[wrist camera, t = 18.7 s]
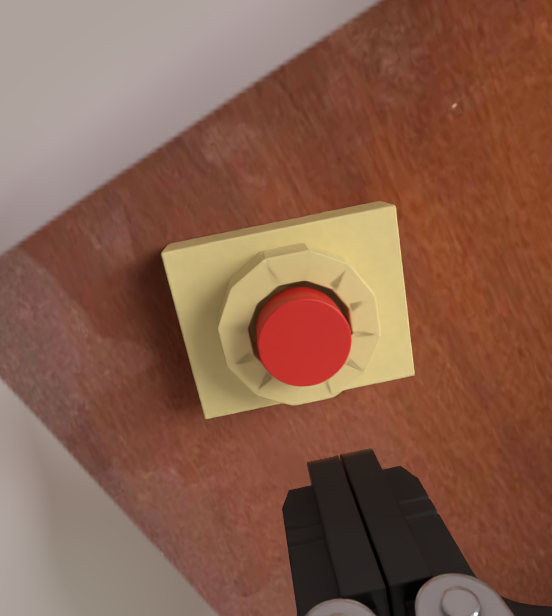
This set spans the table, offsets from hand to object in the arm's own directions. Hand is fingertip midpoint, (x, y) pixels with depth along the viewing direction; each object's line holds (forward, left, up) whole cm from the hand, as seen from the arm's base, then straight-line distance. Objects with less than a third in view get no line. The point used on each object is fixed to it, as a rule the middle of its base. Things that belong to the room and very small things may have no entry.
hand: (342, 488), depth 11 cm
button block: (0, 0, -13) cm, 13 cm away
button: (0, 0, -9) cm, 10 cm away
